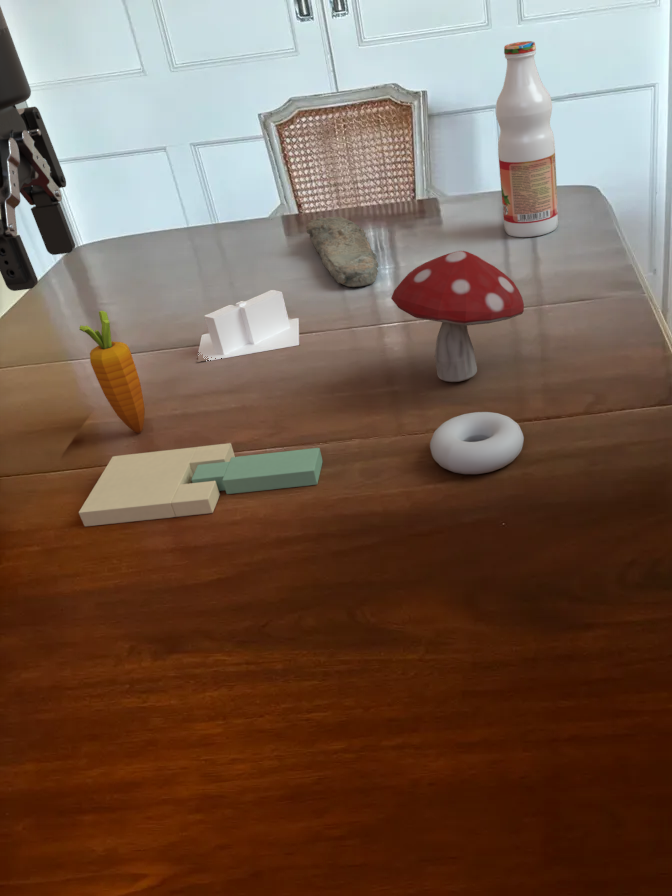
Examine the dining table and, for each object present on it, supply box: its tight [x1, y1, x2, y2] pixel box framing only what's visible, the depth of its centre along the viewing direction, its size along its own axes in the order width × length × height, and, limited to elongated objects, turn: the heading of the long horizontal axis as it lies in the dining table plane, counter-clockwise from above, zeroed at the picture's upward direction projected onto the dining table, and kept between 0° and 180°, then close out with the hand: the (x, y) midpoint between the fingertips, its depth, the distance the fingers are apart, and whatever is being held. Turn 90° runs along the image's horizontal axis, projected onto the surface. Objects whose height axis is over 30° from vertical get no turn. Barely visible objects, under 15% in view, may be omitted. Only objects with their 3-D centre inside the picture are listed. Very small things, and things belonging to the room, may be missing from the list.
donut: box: [429, 411, 525, 475], centre depth 95 cm, size 10×4×10 cm
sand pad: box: [78, 442, 236, 528], centre depth 98 cm, size 14×12×2 cm
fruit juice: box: [495, 40, 559, 238], centre depth 148 cm, size 9×9×28 cm
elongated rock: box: [305, 216, 379, 288], centre depth 155 cm, size 35×5×10 cm
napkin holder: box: [197, 289, 300, 362], centre depth 130 cm, size 15×11×6 cm
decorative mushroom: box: [390, 250, 525, 383], centre depth 108 cm, size 16×16×15 cm
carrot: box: [79, 310, 146, 435], centre depth 107 cm, size 5×5×15 cm
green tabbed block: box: [191, 447, 324, 495], centre depth 97 cm, size 14×5×2 cm, turn 90°
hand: (44, 269), depth 71 cm, fingers open, 8 cm apart
